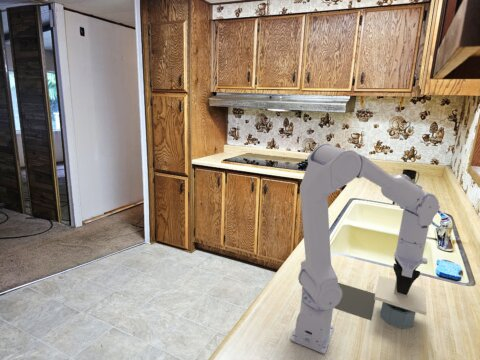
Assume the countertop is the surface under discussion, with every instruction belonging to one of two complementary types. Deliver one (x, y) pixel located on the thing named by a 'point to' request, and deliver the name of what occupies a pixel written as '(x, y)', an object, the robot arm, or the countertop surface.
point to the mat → (356, 301)
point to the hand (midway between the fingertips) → (402, 289)
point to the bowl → (397, 316)
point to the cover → (401, 296)
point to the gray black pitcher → (411, 175)
